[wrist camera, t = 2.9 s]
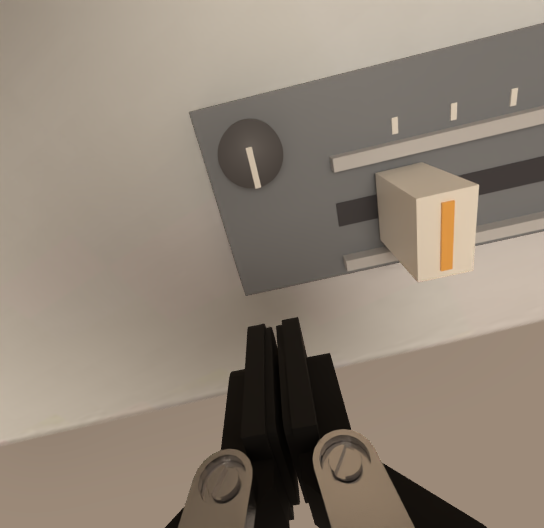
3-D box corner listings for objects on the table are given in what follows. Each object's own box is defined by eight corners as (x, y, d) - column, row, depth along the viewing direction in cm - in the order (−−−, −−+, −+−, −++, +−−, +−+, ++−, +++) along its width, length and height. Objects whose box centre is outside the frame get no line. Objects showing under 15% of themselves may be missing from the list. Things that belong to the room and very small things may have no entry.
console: (196, 110, 18) (183, 113, 15) (806, -44, 17) (948, -79, 13) (246, 276, 23) (245, 307, 20) (719, 172, 22) (806, 186, 18)
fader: (375, 172, 18) (417, 199, 13) (421, 162, 18) (481, 185, 13) (380, 239, 19) (419, 283, 15) (422, 230, 19) (474, 271, 15)
